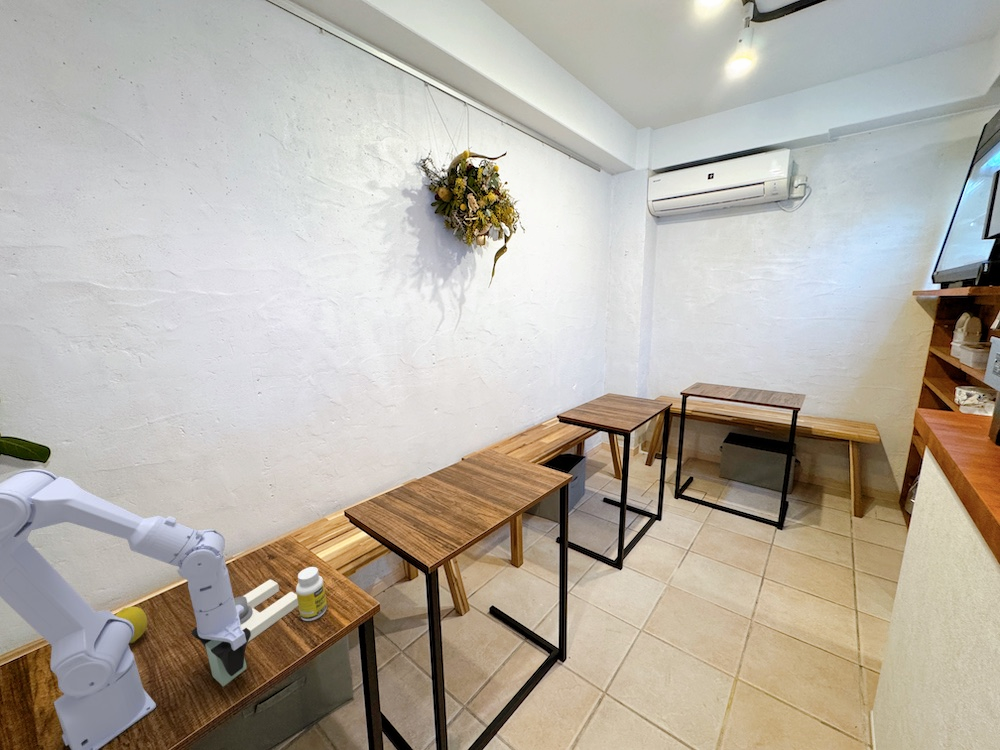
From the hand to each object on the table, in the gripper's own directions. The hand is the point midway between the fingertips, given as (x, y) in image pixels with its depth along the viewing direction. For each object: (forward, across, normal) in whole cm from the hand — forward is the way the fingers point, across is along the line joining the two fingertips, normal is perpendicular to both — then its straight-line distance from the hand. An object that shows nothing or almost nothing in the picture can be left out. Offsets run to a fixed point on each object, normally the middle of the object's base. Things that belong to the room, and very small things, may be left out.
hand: (227, 663), depth 72 cm
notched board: (+2, +10, -9) cm, 14 cm away
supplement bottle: (+2, -1, -16) cm, 17 cm away
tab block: (+2, 0, 0) cm, 2 cm away
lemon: (+2, +26, +6) cm, 27 cm away
